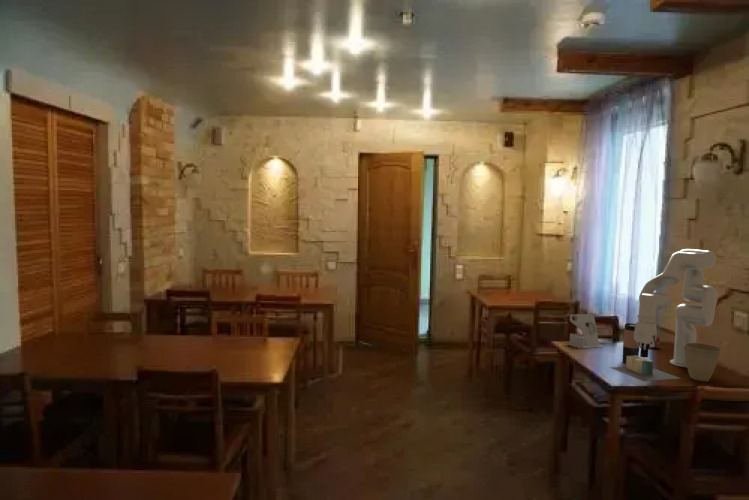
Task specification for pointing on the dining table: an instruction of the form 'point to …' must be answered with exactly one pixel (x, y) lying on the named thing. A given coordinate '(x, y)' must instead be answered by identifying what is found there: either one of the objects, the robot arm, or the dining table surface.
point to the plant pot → (701, 360)
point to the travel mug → (629, 342)
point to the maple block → (639, 364)
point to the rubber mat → (646, 377)
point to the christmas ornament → (657, 341)
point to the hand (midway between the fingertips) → (644, 356)
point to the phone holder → (584, 332)
